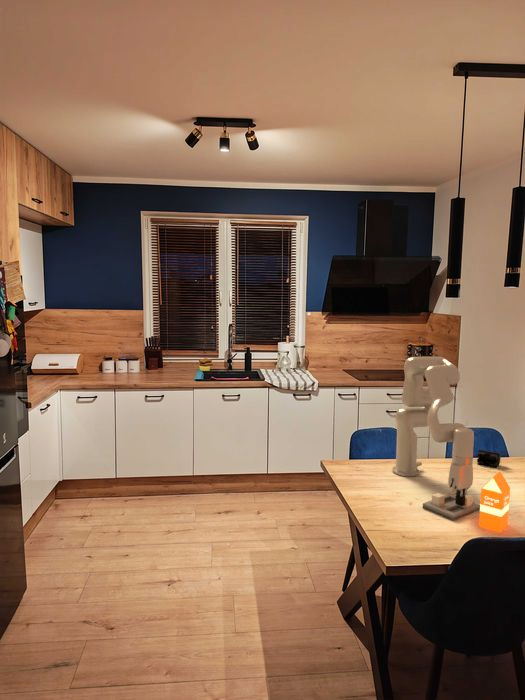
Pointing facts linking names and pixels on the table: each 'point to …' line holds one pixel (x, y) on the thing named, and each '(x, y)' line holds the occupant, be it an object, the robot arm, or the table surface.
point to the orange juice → (494, 504)
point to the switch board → (451, 508)
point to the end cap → (488, 459)
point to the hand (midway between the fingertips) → (460, 504)
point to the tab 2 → (468, 501)
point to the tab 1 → (438, 499)
